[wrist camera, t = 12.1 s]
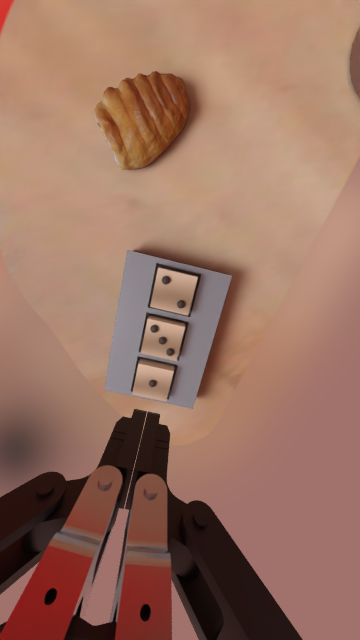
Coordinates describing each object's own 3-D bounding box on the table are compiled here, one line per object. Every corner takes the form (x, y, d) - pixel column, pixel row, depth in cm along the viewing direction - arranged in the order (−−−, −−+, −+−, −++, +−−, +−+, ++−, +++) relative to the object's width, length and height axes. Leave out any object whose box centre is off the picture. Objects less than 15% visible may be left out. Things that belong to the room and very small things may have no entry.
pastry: (170, 64, 22) (168, 25, 18) (201, 135, 23) (205, 112, 20) (93, 119, 23) (76, 93, 19) (127, 183, 25) (118, 169, 21)
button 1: (142, 354, 29) (138, 364, 26) (174, 362, 29) (173, 372, 26) (136, 383, 30) (131, 395, 27) (167, 390, 30) (166, 402, 27)
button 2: (160, 267, 26) (158, 267, 23) (196, 275, 26) (198, 277, 23) (153, 302, 27) (149, 307, 24) (187, 310, 27) (188, 316, 24)
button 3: (150, 313, 27) (147, 318, 24) (184, 321, 27) (185, 327, 25) (144, 345, 28) (140, 353, 26) (177, 352, 28) (176, 361, 26)
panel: (132, 251, 26) (127, 250, 24) (227, 274, 27) (232, 275, 24) (110, 379, 31) (104, 390, 28) (191, 397, 31) (192, 408, 29)
